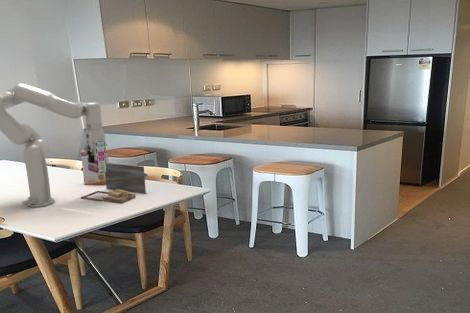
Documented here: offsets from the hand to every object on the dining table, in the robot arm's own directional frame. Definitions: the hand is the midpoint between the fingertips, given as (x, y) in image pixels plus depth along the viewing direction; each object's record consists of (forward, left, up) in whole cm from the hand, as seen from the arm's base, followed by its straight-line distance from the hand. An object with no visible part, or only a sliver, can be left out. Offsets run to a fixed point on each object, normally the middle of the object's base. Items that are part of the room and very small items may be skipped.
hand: (96, 161), depth 209 cm
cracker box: (+23, +24, -21) cm, 39 cm away
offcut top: (0, -12, -17) cm, 21 cm away
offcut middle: (0, -12, -19) cm, 22 cm away
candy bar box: (0, 0, -5) cm, 5 cm away
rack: (+4, -6, -20) cm, 22 cm away
